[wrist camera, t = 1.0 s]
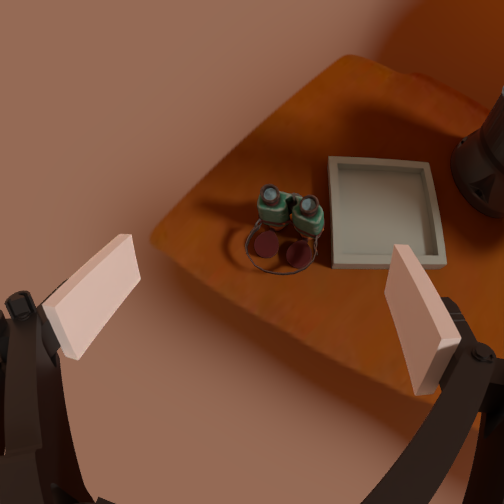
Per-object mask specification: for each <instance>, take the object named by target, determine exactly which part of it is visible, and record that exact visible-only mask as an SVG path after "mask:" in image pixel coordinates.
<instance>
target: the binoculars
mask: <svg viewBox="0 0 504 504" xmlns="http://www.w3.org/2000/svg"><path fill="white" fill-rule="evenodd" d="M257 208H258V212H259V219H258V221H257V222H256V224H255V226H254V228H253V229H252V230H251V231H250V235H249V236H248V238H247V241H246V244H245V249H246V254H247V256H248V257H249V259H250V260H251V262H252V263H253V265H254V266H256V267H257V268H259V269H261V270H262V271H264V272H267V273H271V274H277V275H290V274H295V273H298V272H300V271H302V270H305V269H306V268H307V267H308V266H309V265H310V264H311V263H312V262H313V261H314V258H315V255H316V254H317V255H318V252H317V250H316V248H317V244H318V243H317V240H318V238H319V237H320V235H321V234H322V231H324V226H325V220H324V212H323V209H322V207H321V206H320V205H319V201H318V199H317V197H315V196H314V195H307V196H305V197H302V196H301V195H299V194H298V193H297V194H296V193H293V194H288V193H285V192H280V191H279V190H278V188H277V187H276V186H275V185H273V184H266V185H264V186H263V187H262V188H261V190H260V195H259V198H258V201H257ZM291 213H292V219H293V222H292V221H290V216H289V215H290V214H291ZM258 222H259V223H260V224H259V225H258ZM262 223H264V224H266V225H269V226H270V231H265V232H263V233H261V234H260V235H259V236H258V237H257V238H256V240H255V243H254V248H255V251H256V253H257V254H258V255H259V256H260V257H262V258H271V257H273V256H274V255H275V254H276V253H277V251H278V248H279V242H278V238H277V236H276V234H275V233H274V232H275V231H279V230H281V229H283V228H284V227H285V226H286V225H288V224H289V223H290V224H292V225H293V226H294V228H295V229H296V230H297V231H298V232H299V233H300V235H301V237H302V238H303V240H302V241H301V240H300V241H296V242H294V243H293V244H292V245H291V246H290V247H289V248H288V250H287V253H286V258H287V261H288V263H289V264H290V265H292V266H293V267H295V268H298V269H299V270H297V271H295V272H288V273H277V272H271V271H267V270H264V269H262V268H260V267H258V266H257V265H255V264H254V262H253V261H252V259H251V258H250V256H249V254H248V249H247V246H248V244H249V241H250V239H251V237H252V236H253V234H254V233H255V232H256V231H257V230H259V228H260V226H261V224H262ZM311 239H315V242H314V251H315V254H314V257H313V260H312V261H311V259H312V252H311V249H310V247H309V245H308V244H307V242H308V240H311Z"/></svg>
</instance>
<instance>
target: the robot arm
mask: <svg viewBox="0 0 504 504" xmlns="http://www.w3.org/2000/svg"><path fill="white" fill-rule="evenodd" d="M451 170H452V174H453V178H454V180H455V183H456V185H457V187H458V188H459V190H460V192H461V193H462V195H463V196H464V197H465V198H466V200H467V201H468V202H469V203H470V204H471V205H472V206H473V207H474V208H476V209H477V210H478V211H480V212H481V213H483V214H485V215H487V216H490V217H494V218H503V217H504V87H503V89H502V93H501V95H500V97H499V99H498V100H497V102H496V104H495V105H494V107H493V109H492V110H491V112H490V114H489V115H488V117H487V118H486V120H485V122H484V123H483V125H482V126H481V128H479V129H478V130H476V131H475V132H473V133H471V134H470V135H468V136H467V137H465V138H463V139H462V140H461V141H460V142H459V143H458V145H457V146H456V148H455V149H454V151H453V153H452V156H451ZM140 279H141V278H140V274H139V269H138V265H137V260H136V255H135V251H134V246H133V241H132V235H131V234H119V235H118V236H116V237H115V238H114V239H113V240H112V241H111V242H109V243H108V244H107V245H106V246H105V247H104V248H103V249H101V250H100V251H99V252H98V253H97V254H96V255H95V256H93V257H92V258H91V259H90V260H89V261H88V262H87V263H85V264H84V265H83V266H82V267H81V268H80V269H79V270H78V271H77V272H75V273H74V274H73V275H72V276H71V277H70V278H69V279H67V280H65V281H64V282H63V283H62V284H61V285H59V286H58V287H57V289H55V290H54V291H53V292H52V294H50V295H49V296H48V297H47V298H46V299H45V300H44V301H43V302H42V303H41V304H40V305H39V306H38V307H37V308H36V306H35V304H34V302H33V299H32V297H31V294H30V292H28V291H19V292H16V293H14V294H13V295H11V296H10V297H9V298H8V299H7V300H6V301H5V305H6V308H7V310H8V312H9V314H10V316H11V318H12V319H5V317H4V314H3V312H2V311H1V310H0V504H115V503H112V502H110V501H107V500H105V499H103V498H100V497H98V499H97V501H96V503H95V502H94V500H93V499H92V497H91V496H90V494H89V493H88V491H87V490H86V488H85V485H84V483H83V479H82V476H81V472H80V469H79V465H78V461H77V457H76V453H75V449H74V445H73V441H72V436H71V431H70V426H69V421H68V416H67V411H66V405H65V398H64V392H63V385H62V377H61V368H60V358H59V356H58V353H57V350H58V349H59V348H60V346H61V348H62V350H63V352H64V354H65V356H66V357H69V358H72V359H75V360H79V359H80V357H81V356H82V355H83V354H84V352H85V351H86V349H87V348H88V347H89V345H90V344H91V343H92V341H93V340H94V338H95V337H96V335H98V333H99V332H100V331H101V329H102V328H103V327H104V325H105V324H106V323H107V321H108V320H109V319H110V318H111V316H112V315H113V314H114V312H115V311H116V310H117V309H118V307H119V306H120V305H121V303H122V302H123V301H124V300H125V298H126V297H127V296H128V294H129V293H130V292H131V291H132V290H133V288H134V287H135V286H136V285H137V283H138V282H139V281H140ZM384 293H385V296H386V299H387V302H388V305H389V308H390V311H391V314H392V317H393V320H394V323H395V326H396V330H397V333H398V336H399V339H400V343H401V346H402V349H403V353H404V356H405V360H406V363H407V367H408V370H409V374H410V378H411V382H412V386H413V390H414V394H415V395H426V394H433V393H434V391H435V390H436V388H437V386H438V384H440V387H441V390H442V392H441V394H440V396H439V397H438V399H437V401H436V402H435V404H434V406H433V407H432V409H431V411H430V413H429V414H428V416H427V417H426V419H425V421H424V422H423V424H422V425H421V427H420V428H419V430H418V431H417V433H416V434H415V436H414V437H413V438H412V440H411V442H410V443H409V444H408V446H407V447H406V448H405V450H404V451H403V453H402V454H401V455H400V457H399V458H398V459H397V461H396V462H395V463H394V464H393V466H392V467H391V468H390V470H389V471H388V472H387V473H386V475H385V476H384V477H383V478H382V479H381V481H380V482H379V483H378V484H377V485H376V487H375V488H374V489H373V490H372V491H371V492H370V493H369V495H368V496H367V497H366V498H365V499H364V500H363V502H361V503H360V504H428V503H429V502H430V500H431V499H432V497H433V496H434V494H435V493H436V491H437V489H438V488H439V486H440V485H441V483H442V481H443V480H444V478H445V476H446V474H447V473H448V471H449V469H450V468H451V466H452V464H453V462H454V460H455V458H456V456H457V454H458V453H459V451H460V449H461V447H462V445H463V443H464V441H465V439H466V437H467V435H468V433H469V431H470V428H471V426H472V424H473V422H474V420H475V417H476V415H477V413H478V412H482V414H481V421H480V428H479V434H478V440H477V446H476V451H475V456H474V461H473V465H472V469H471V474H470V477H469V481H468V485H467V489H466V492H465V496H464V499H463V502H462V504H504V359H500V358H496V355H495V353H494V351H493V350H492V349H491V348H490V347H489V346H487V345H486V344H483V343H480V342H477V340H476V338H475V336H474V335H473V333H472V331H471V329H470V327H469V325H468V324H467V322H466V321H465V318H464V316H463V315H462V314H461V311H460V309H459V308H458V306H457V304H455V303H454V302H453V301H452V300H451V299H450V298H449V297H440V296H439V294H438V293H437V291H436V289H435V287H434V286H433V284H432V282H431V280H430V279H429V277H428V275H427V274H426V272H425V270H424V269H423V267H422V265H421V264H420V262H419V261H418V259H417V257H416V256H415V254H414V253H413V251H412V249H411V248H410V246H409V245H403V244H394V247H393V253H392V258H391V263H390V268H389V273H388V278H387V283H386V288H385V292H384ZM5 449H6V452H5ZM4 452H5V455H4Z"/></svg>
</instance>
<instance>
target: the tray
mask: <svg viewBox="0 0 504 504" xmlns="http://www.w3.org/2000/svg"><path fill="white" fill-rule="evenodd" d="M327 169H328V184H329V202H330V224H331V263H332V269H389V268H390V263H391V258H392V253H393V247H394V244H403V245H409V246H410V248H411V249H412V251H413V253H414V254H415V256H416V257H417V259H418V261H419V262H420V264H421V265H422V267H423V269H441V268H442V267H444V266H445V265H447V261H446V252H445V244H444V237H443V231H442V224H441V218H440V212H439V207H438V202H437V197H436V192H435V187H434V183H433V178H432V174H431V170H430V165H429V163H428V162H418V161H407V160H394V159H380V158H363V157H339V156H328V164H327Z"/></svg>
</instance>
